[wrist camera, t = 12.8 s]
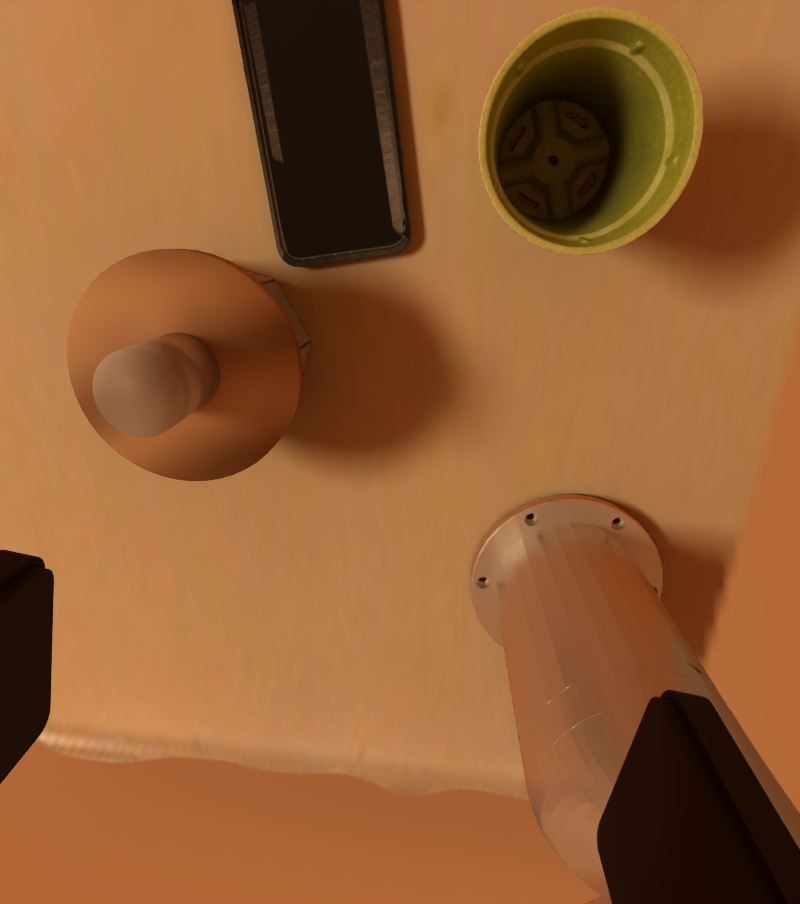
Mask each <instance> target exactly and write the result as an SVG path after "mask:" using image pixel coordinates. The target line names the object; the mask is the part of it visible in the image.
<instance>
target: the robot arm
mask: <svg viewBox="0 0 800 904" xmlns="http://www.w3.org/2000/svg"><path fill="white" fill-rule="evenodd" d="M528 514H533V516H532V517H527V515H528ZM615 518H618V520H617V521H613V520H614V519H615ZM481 577H485V578H484V579H480V578H481ZM663 582H664V577H663V567H662V562H661V559H660V556H659V553H658V550H657V547H656V546H655V544H654V542H653V541H652V539H651V537H650V536H649V534H648V533H647V532H646V530H645V529H644V528H643V527H642V525H641V524H640V523H639V522H638V521H637V520H636V519H635V518H634V517H632V516H631V515H630V514H629V513H628V512H626V511H625V510H623V509H621V508H620V507H618V506H616V505H614V504H612V503H611V502H607V501H604V500H601V499H598V498H595V497H591V496H583V495H576V494H570V495H554V496H549V497H545V498H540V499H536V500H534V501H531V502H529V503H526V504H524V505H522V506H519V507H518V508H516V509H515V510H513V511H511V512H510V513H508V514H507V515H505V516H504V517H503V518H502V519H501V520H500V521H498V522H497V523H496V524H495V525H494V526H493V527H492V528H491V529H490V531H489V532H488V533H487V535H486V536H485V537H484V539H483V540H482V541H481V544H480V546H479V548H478V550H477V552H476V554H475V556H474V561H473V565H472V569H471V594H472V602H473V605H474V608H475V611H476V614H477V617H478V618H479V620H480V622H481V624H482V625H483V627H484V629H485V630H486V631H487V633H488V634H489V635H490V636H491V637H492V638H493V639H494V640H495V642H497V643H498V644H499V645H501V646H502V647H503V648H504V653H505V659H506V666H507V672H508V678H509V684H510V690H511V696H512V702H513V708H514V714H515V720H516V726H517V733H518V739H519V745H520V751H521V757H522V763H523V769H524V775H525V781H526V787H527V792H528V796H529V800H530V803H531V807H532V810H533V813H534V815H535V818H536V820H537V823H538V825H539V827H540V829H541V831H542V832H543V834H544V836H545V838H546V839H547V840H548V842H549V844H550V845H551V847H552V848H553V849H554V851H555V852H556V854H557V855H558V856H559V857H560V858H561V859H562V861H563V862H564V863H565V864H566V865H567V866H568V867H569V868H570V869H571V870H572V871H573V872H574V873H575V874H576V875H577V876H578V877H579V878H580V879H581V880H583V881H584V882H585V883H586V884H587V885H589V886H590V887H591V888H592V889H593V890H594V891H596V892H597V893H598V894H599V895H600V896H599V897H597V898H596V899H595V900H592V901H590V902H588V903H586V904H800V813H799V812H798V810H797V809H796V808H795V806H794V805H793V803H792V802H791V800H790V799H789V798H788V796H787V795H786V793H785V792H784V790H783V789H782V787H781V786H780V784H779V783H778V781H777V780H776V778H775V777H774V776H773V774H772V773H771V771H770V770H769V768H768V767H767V765H766V764H765V762H764V761H763V760H762V758H761V757H760V755H759V754H758V752H757V751H756V749H755V748H754V746H753V744H752V743H751V741H750V740H749V738H748V737H747V735H746V734H745V732H744V731H743V729H742V727H741V726H740V724H739V723H738V721H737V719H736V718H735V716H734V715H733V713H732V712H731V710H730V709H729V708H728V706H727V705H726V703H725V702H724V700H723V698H722V697H721V695H720V694H719V692H718V690H717V689H716V687H715V686H714V684H713V682H712V681H711V679H710V678H709V676H708V674H707V673H706V671H705V670H704V668H703V666H702V665H701V663H700V662H699V660H698V659H697V657H696V655H695V654H694V652H693V651H692V649H691V647H690V646H689V644H688V643H687V641H686V639H685V638H684V636H683V635H682V633H681V631H680V630H679V628H678V627H677V625H676V624H675V622H674V620H673V619H672V617H671V616H670V614H669V612H668V611H667V609H666V608H665V606H664V604H663V603H662V601H661V600H660V599H661V596H662V590H663ZM53 590H54V577H53V573H52V571H51V570H49V569H45V564H44V562H43V560H42V559H41V558H39V557H36V556H31V555H26V554H21V553H17V552H12V551H7V550H0V784H1V782H2V781H3V780H4V779H5V777H6V776H7V775H8V774H9V772H10V771H11V770H12V769H13V768H14V766H15V765H16V764H17V763H18V761H19V760H20V759H21V758H22V757H23V755H24V754H25V752H27V750H28V749H29V748H30V747H31V745H32V744H33V743H34V742H35V741H36V739H37V738H38V737H39V735H40V734H41V733H42V731H43V729H44V727H45V725H46V723H47V720H48V717H49V714H50V703H51V665H52V627H53Z"/></svg>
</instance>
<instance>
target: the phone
mask: <svg viewBox="0 0 800 904" xmlns="http://www.w3.org/2000/svg"><path fill="white" fill-rule="evenodd" d="M232 4H233V10H234V15H235V21H236V26H237V32H238V37H239V43H240V48H241V53H242V59H243V64H244V72H245V77H246V82H247V86H248V92H249V97H250V102H251V108H252V113H253V119H254V124H255V130H256V135H257V141H258V146H259V152H260V157H261V163H262V168H263V173H264V179H265V184H266V190H267V195H268V201H269V206H270V212H271V217H272V223H273V228H274V233H275V239H276V244H277V249H278V252H279V255H280V256H281V258H282V259H283V261H285V262H286V263H287V264H289V265H292V266H295V267H302V266H309V265H316V264H323V263H330V262H338V261H345V260H352V259H359V258H367V257H374V256H381V255H388V254H394V253H398V252H400V251H402V250H403V249H404V248H405V247H406V246H407V244H408V243H409V240H410V237H411V226H410V218H409V210H408V201H407V193H406V185H405V176H404V168H403V159H402V151H401V143H400V134H399V126H398V118H397V109H396V101H395V92H394V84H393V76H392V67H391V59H390V51H389V42H388V34H387V25H386V17H385V9H384V0H232Z"/></svg>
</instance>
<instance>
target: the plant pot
mask: <svg viewBox="0 0 800 904" xmlns="http://www.w3.org/2000/svg"><path fill="white" fill-rule="evenodd" d="M569 112H572V113H575V114H576V115H578V116H580V117H582V118H583V119H584V120H585V121H586V124H587V127H586V129H583V128H582V127H581V126H580V125H579V124H578V123H577V122H575V121H574V120H572V119H570V118H568V117H566V114H567V113H569ZM522 126H524V127H526V131H525V132H524V133H523V135H522V136H521V137H520V139H519V140H518V142H517V144H516V146H515V147H514V150H513V151H510V150H511V149H510V144H511V141H512V138H513V136H514V134H515V133H516V132H517V130H518V129H519V128H520V127H522ZM702 134H703V97H702V93H701V88H700V84H699V80H698V77H697V74H696V71H695V69H694V67H693V65H692V63H691V61H690V59H689V57H688V55H687V54H686V52H685V51H684V49H683V48H682V46H681V45H680V43H679V42H678V41H677V40H676V39H675V38H674V37H673V36H672V35H671V34H670V33H669V32H668V31H667V30H665V29H664V28H663V27H661V26H660V25H659V24H657V23H656V22H654V21H652V20H651V19H649V18H647V17H645V16H643V15H641V14H638V13H636V12H633V11H629V10H625V9H619V8H610V7H595V8H587V9H583V10H577V11H574V12H571V13H568V14H565V15H562V16H560V17H557V18H555V19H553V20H551V21H549V22H547V23H545V24H543V25H542V26H540V27H539V28H537V29H536V30H535V31H533V32H532V33H531V34H530V35H529V36H527V37H526V38H525V39H524V40H523V41H522V42H521V43H520V44H519V45H518V46H517V47H516V48H515V49H514V50H513V52H512V53H511V54H510V55H509V57H508V58H507V59H506V60H505V62H504V63H503V65H502V66H501V68H500V69H499V71H498V73H497V75H496V76H495V78H494V80H493V82H492V85H491V87H490V89H489V91H488V94H487V97H486V99H485V103H484V106H483V110H482V115H481V119H480V126H479V137H478V155H479V163H480V169H481V174H482V178H483V182H484V185H485V187H486V190H487V192H488V195H489V197H490V199H491V201H492V203H493V205H494V207H495V208H496V210H497V211H498V213H499V214H500V216H501V217H502V218H503V219H504V220H505V222H506V223H507V224H508V225H509V226H510V227H511V228H512V229H513V230H514V231H515V232H517V233H518V234H519V235H521V236H522V237H523V238H525V239H526V240H528V241H530V242H531V243H533V244H535V245H537V246H539V247H541V248H544V249H547V250H550V251H553V252H557V253H562V254H568V255H589V254H597V253H602V252H606V251H610V250H614V249H616V248H619V247H621V246H624V245H626V244H628V243H630V242H632V241H634V240H636V239H637V238H638V237H640V236H642V235H643V234H645V233H646V232H647V231H649V230H650V229H651V228H652V227H654V226H655V225H656V224H657V223H658V222H659V221H660V220H661V219H662V218H663V217H664V216H665V215H666V214H667V213H668V211H669V210H670V209H671V208H672V206H673V205H674V204H675V202H676V201H677V199H678V198H679V196H680V195H681V193H682V191H683V190H684V188H685V187H686V184H687V182H688V181H689V179H690V176H691V174H692V172H693V170H694V167H695V164H696V161H697V157H698V154H699V150H700V145H701V141H702ZM551 156H556V157H557V159H558V163H557V164H556V165H554V166H552V165H551V164H549V158H550V157H551ZM592 172H594V173H595V180H594V182H593V184H592V185H591V187H590V188H589V190H588V191H587V192H586V193H585V194H584V195H582V196H579V195H578V192H579V191H580V189H581V188H582V187H583V186H584V184H585V183H586V181H587V180H588V177H589V175H590V173H592ZM521 192H522V193H523V194H524V195H525V196H527V197H528V198H529V199H531V200H533V201H534V202H537V203H539V205H540V207H538V208H533V207H532V206H530V205H529V204H525V203H523V202H522V201H521V199H520V198H519V197H518V196H519V193H521Z"/></svg>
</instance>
